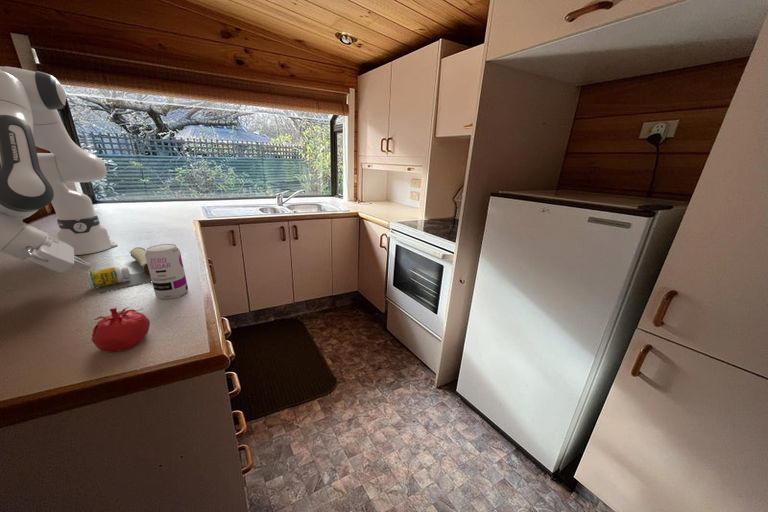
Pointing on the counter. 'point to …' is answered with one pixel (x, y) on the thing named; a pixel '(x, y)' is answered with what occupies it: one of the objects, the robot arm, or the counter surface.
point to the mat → (127, 282)
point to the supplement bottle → (107, 276)
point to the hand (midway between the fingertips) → (89, 267)
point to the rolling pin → (140, 258)
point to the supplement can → (166, 271)
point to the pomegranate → (120, 330)
